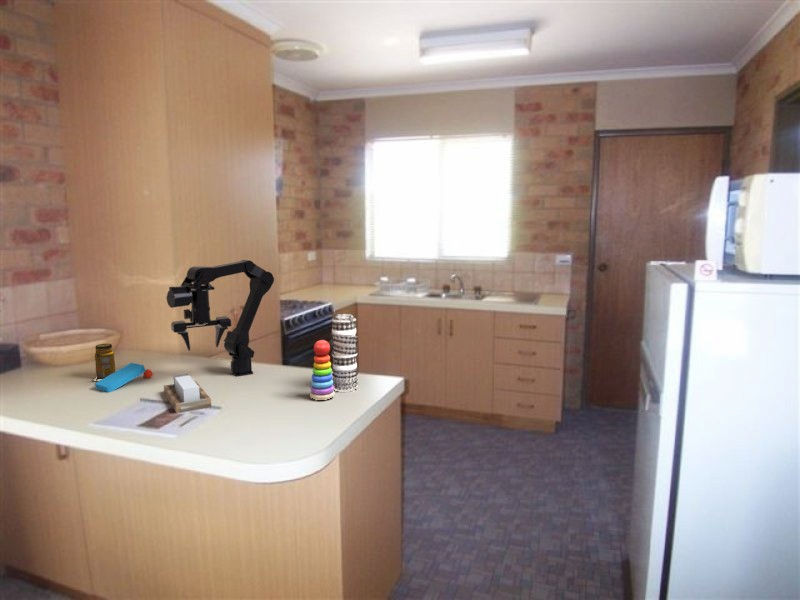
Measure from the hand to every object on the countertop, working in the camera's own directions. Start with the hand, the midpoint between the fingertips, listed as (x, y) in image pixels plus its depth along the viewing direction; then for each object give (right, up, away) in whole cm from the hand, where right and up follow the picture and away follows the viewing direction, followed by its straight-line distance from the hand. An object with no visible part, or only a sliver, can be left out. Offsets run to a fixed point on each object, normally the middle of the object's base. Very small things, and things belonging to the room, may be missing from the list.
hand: (203, 348), depth 188 cm
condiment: (-37, -11, +7) cm, 40 cm away
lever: (-26, -13, +1) cm, 29 cm away
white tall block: (0, -14, -15) cm, 21 cm away
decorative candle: (+49, -13, -5) cm, 51 cm away
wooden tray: (0, -15, -15) cm, 21 cm away
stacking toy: (+43, -15, -13) cm, 47 cm away
